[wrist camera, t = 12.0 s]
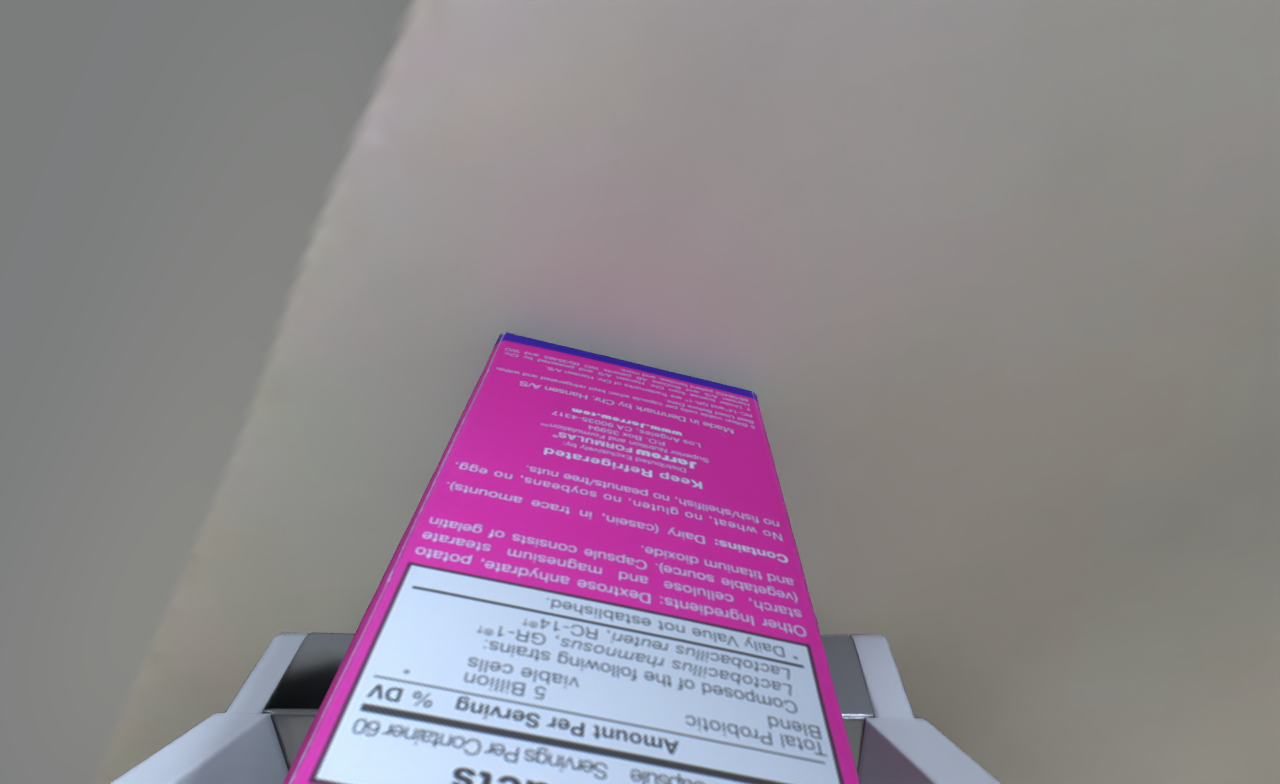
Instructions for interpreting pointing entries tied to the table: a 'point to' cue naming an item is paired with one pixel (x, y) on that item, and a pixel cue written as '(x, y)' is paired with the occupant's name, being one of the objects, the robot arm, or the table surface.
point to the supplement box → (589, 598)
